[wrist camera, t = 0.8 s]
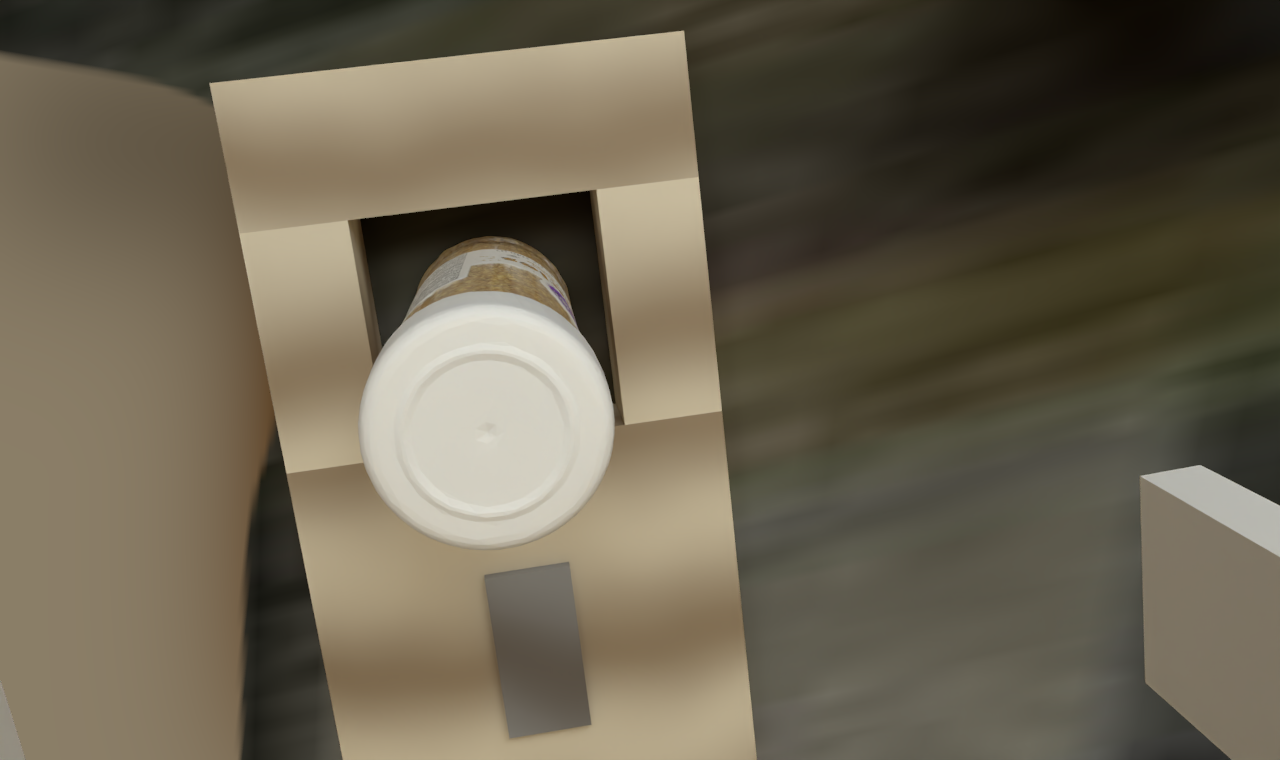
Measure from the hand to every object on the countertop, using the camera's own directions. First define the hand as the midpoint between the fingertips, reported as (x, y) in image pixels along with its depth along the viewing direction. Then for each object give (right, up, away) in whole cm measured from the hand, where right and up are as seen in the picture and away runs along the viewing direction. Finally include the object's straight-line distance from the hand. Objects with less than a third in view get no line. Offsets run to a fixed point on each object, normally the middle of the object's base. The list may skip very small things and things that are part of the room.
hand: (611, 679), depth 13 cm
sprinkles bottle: (-4, +6, +20) cm, 21 cm away
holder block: (-3, +2, +21) cm, 21 cm away
